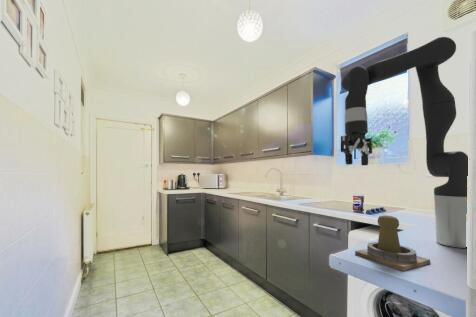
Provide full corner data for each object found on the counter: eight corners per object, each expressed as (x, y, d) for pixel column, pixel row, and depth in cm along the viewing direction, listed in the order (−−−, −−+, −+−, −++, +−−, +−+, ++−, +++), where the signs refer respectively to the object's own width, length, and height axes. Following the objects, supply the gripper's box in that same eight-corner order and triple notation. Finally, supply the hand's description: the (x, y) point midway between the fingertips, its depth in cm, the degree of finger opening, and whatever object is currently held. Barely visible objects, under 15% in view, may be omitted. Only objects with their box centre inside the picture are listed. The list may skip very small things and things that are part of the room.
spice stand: (382, 249, 73) (381, 239, 74) (430, 263, 62) (429, 252, 62) (355, 254, 68) (354, 244, 68) (402, 271, 56) (402, 258, 56)
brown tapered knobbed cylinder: (378, 250, 69) (377, 213, 70) (402, 254, 65) (401, 216, 66) (375, 255, 64) (374, 215, 65) (401, 260, 61) (399, 218, 61)
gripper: (351, 117, 78) (353, 163, 77) (377, 121, 85) (379, 165, 83) (334, 121, 85) (335, 164, 84) (359, 125, 91) (360, 165, 90)
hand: (357, 164), depth 84 cm, fingers open, 8 cm apart
